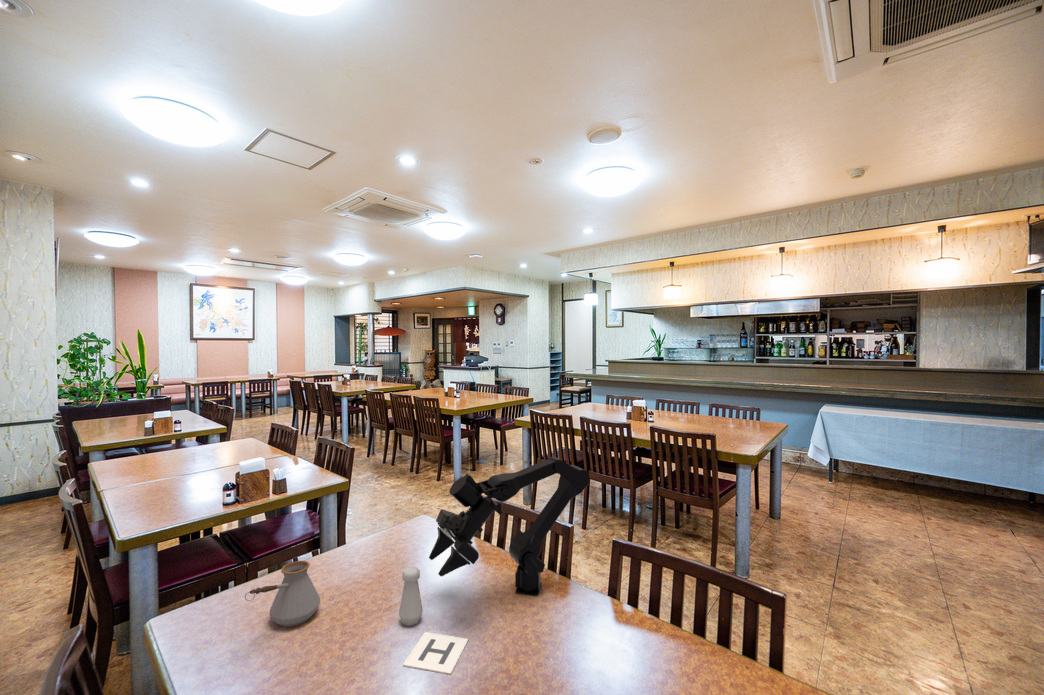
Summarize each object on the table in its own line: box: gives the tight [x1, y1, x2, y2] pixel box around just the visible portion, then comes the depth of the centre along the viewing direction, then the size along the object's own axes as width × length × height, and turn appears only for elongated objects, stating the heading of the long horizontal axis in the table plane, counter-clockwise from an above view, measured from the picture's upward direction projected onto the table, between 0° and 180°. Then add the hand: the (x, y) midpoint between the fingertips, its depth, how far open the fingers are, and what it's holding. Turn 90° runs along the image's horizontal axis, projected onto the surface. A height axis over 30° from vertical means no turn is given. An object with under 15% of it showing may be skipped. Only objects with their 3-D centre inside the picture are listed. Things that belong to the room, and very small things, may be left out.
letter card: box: [402, 631, 469, 675], centre depth 98 cm, size 11×11×1 cm
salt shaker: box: [398, 566, 424, 627], centre depth 109 cm, size 6×6×13 cm
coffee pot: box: [244, 560, 321, 627], centre depth 105 cm, size 21×12×15 cm, turn 171°
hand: (434, 566), depth 112 cm, fingers open, 9 cm apart
